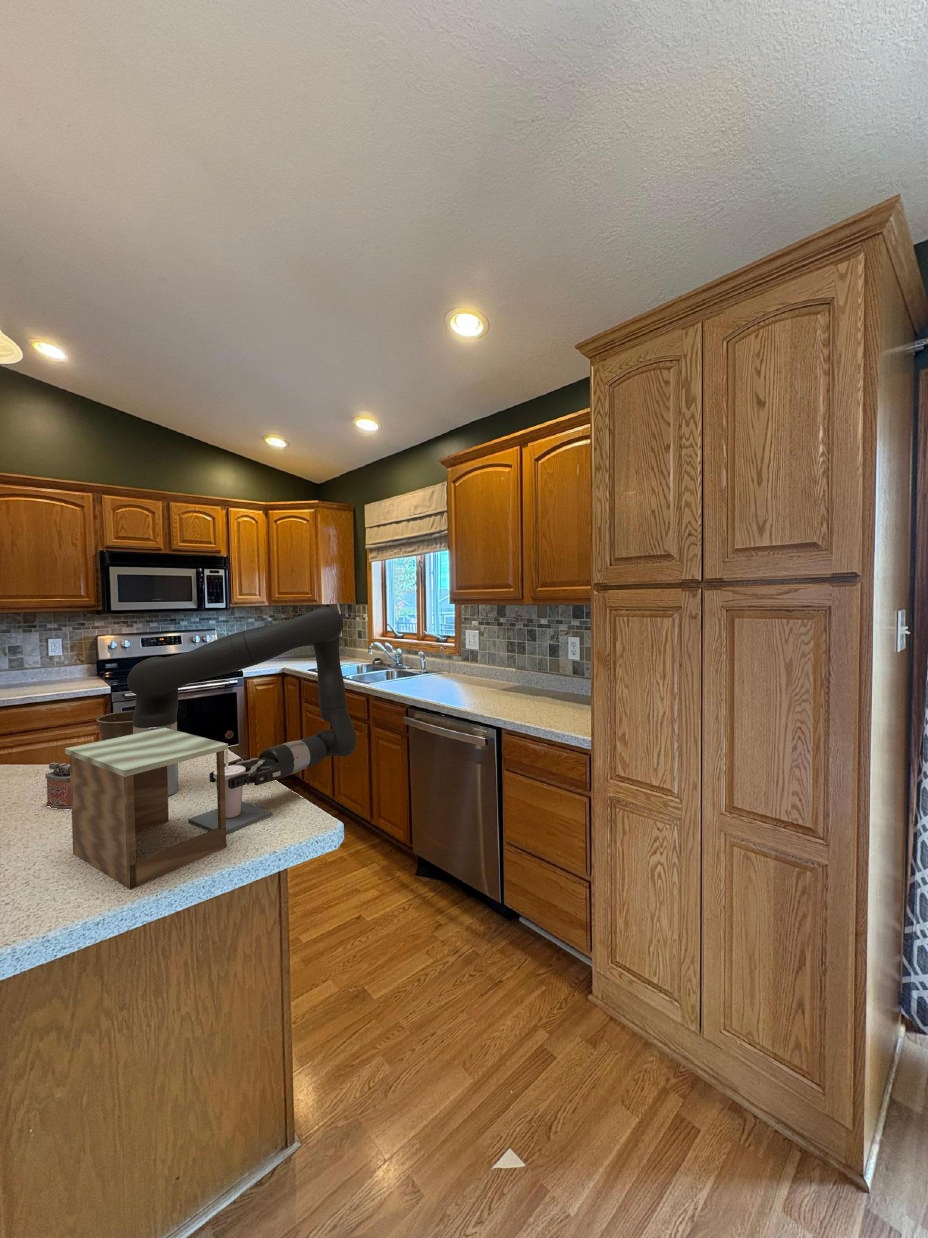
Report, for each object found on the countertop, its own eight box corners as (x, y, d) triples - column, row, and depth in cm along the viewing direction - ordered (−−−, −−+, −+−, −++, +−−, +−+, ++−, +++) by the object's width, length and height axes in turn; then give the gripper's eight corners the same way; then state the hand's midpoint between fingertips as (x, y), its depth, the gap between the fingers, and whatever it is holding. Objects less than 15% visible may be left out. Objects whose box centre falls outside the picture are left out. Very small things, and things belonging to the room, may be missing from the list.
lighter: (82, 806, 119) (80, 763, 119) (66, 811, 116) (65, 767, 115) (58, 801, 122) (56, 759, 121) (42, 807, 118) (40, 764, 118)
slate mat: (188, 822, 110) (188, 819, 110) (239, 803, 120) (239, 800, 120) (221, 836, 103) (220, 833, 103) (272, 815, 113) (272, 812, 113)
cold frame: (68, 854, 97) (65, 748, 96) (167, 819, 112) (165, 727, 111) (128, 892, 84) (124, 770, 83) (230, 847, 99) (228, 744, 98)
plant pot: (145, 761, 152) (144, 706, 151) (181, 769, 145) (180, 712, 144) (84, 778, 137) (82, 718, 136) (121, 788, 130) (119, 724, 129)
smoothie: (221, 808, 115) (219, 746, 114) (251, 807, 115) (249, 745, 114) (209, 821, 108) (207, 755, 108) (241, 820, 109) (239, 754, 108)
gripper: (266, 739, 127) (199, 758, 113) (305, 748, 119) (239, 769, 105) (266, 769, 127) (201, 791, 113) (306, 780, 120) (240, 806, 106)
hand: (219, 781), depth 109 cm, fingers closed on smoothie, 6 cm apart
